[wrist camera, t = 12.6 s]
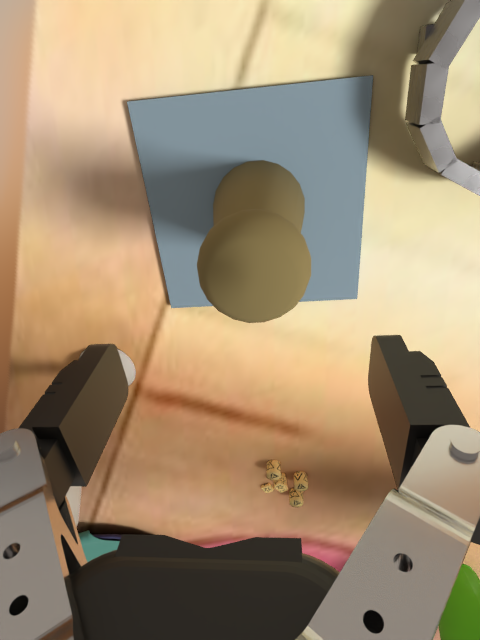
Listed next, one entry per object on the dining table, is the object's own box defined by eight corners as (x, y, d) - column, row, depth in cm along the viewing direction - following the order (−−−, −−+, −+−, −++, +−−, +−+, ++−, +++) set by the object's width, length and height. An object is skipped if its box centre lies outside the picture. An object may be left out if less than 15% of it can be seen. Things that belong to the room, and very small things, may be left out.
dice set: (268, 453, 40) (268, 469, 38) (316, 464, 41) (318, 481, 39) (254, 482, 43) (253, 498, 41) (299, 493, 43) (300, 509, 42)
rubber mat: (371, 75, 22) (373, 75, 22) (356, 296, 29) (356, 298, 29) (129, 101, 23) (127, 101, 23) (172, 305, 31) (171, 308, 30)
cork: (201, 173, 25) (160, 232, 16) (296, 148, 24) (313, 197, 14) (226, 259, 28) (204, 352, 19) (311, 242, 27) (334, 331, 18)
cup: (404, 586, 51) (433, 700, 42) (428, 549, 46) (468, 669, 37) (472, 594, 51) (517, 710, 42) (504, 558, 46) (563, 680, 37)
